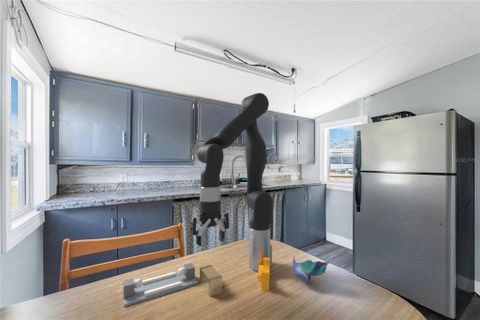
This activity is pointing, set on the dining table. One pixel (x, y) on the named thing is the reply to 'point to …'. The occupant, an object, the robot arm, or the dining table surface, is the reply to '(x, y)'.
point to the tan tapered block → (210, 280)
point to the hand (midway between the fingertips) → (210, 243)
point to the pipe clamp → (264, 273)
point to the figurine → (309, 269)
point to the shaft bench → (158, 285)
